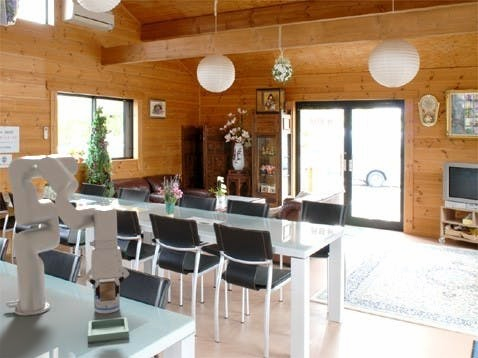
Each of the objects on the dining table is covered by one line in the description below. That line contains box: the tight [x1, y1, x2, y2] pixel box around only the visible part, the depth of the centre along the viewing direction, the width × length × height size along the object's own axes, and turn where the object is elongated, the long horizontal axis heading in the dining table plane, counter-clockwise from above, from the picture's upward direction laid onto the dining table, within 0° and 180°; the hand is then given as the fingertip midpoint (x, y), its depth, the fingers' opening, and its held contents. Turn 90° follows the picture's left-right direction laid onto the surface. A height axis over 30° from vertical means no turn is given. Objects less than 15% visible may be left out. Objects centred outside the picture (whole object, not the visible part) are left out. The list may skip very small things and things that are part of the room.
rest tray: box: [87, 316, 130, 344], centre depth 162 cm, size 13×13×3 cm
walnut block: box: [100, 279, 116, 302], centre depth 161 cm, size 5×5×6 cm
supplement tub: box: [93, 278, 121, 314], centre depth 184 cm, size 10×10×15 cm
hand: (107, 296), depth 161 cm, fingers closed on walnut block, 5 cm apart
